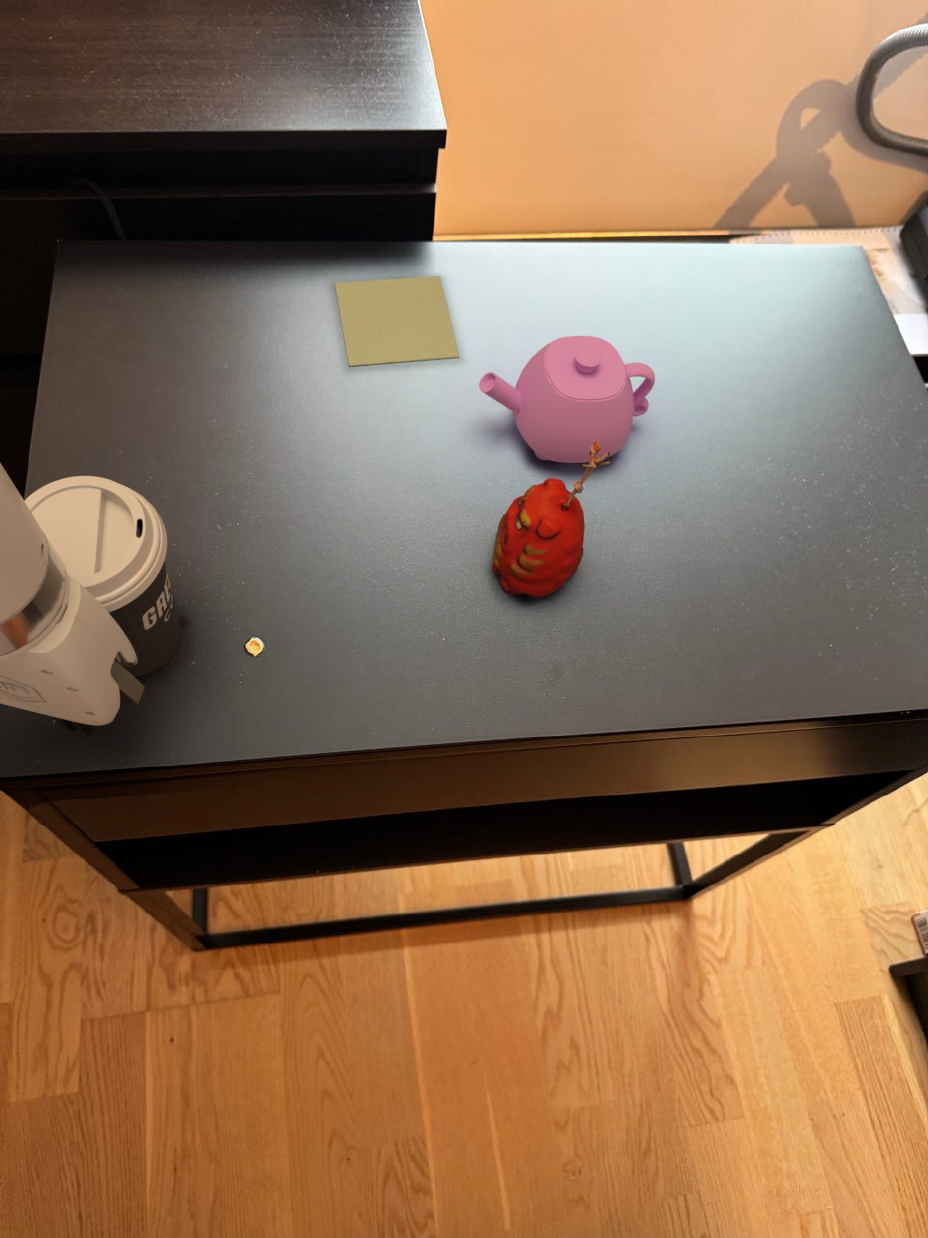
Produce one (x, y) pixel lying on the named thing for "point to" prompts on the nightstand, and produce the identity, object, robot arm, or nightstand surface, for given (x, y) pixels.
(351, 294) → the mat
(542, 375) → the teapot
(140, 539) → the coffee cup
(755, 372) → the nightstand surface
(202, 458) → the nightstand surface
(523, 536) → the red clay folk toy
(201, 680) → the nightstand surface
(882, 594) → the nightstand surface
